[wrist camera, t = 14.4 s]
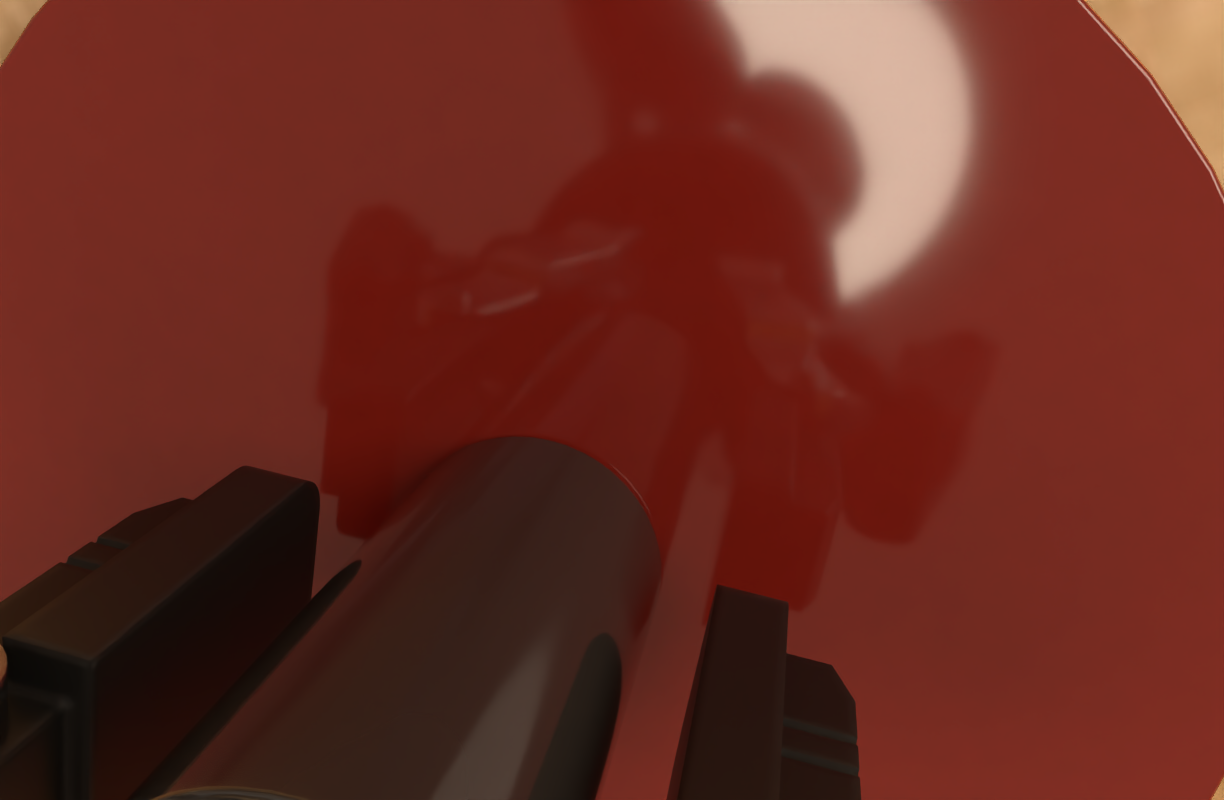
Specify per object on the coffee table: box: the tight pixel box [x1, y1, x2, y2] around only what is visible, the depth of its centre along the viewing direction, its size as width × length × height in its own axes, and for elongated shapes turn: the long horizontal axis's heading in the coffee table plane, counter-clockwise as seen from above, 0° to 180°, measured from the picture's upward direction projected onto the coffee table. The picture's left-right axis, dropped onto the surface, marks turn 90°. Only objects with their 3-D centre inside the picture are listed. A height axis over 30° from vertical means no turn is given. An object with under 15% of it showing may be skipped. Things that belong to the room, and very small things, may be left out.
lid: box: [0, 0, 1224, 800], centre depth 10 cm, size 16×16×7 cm
